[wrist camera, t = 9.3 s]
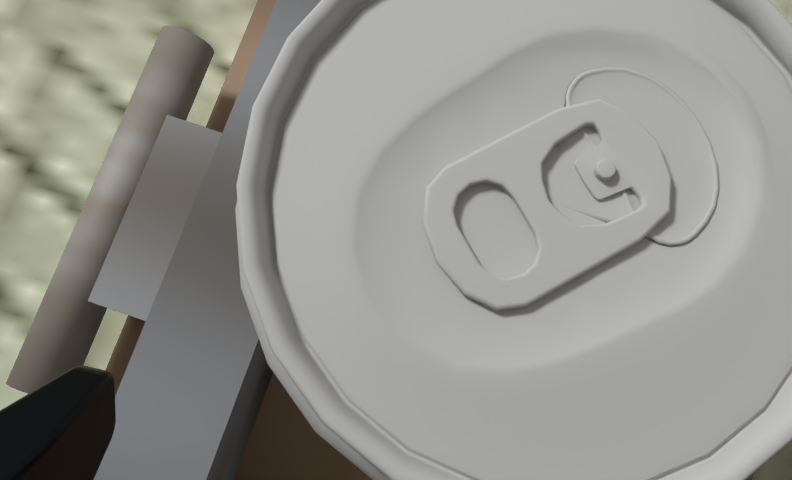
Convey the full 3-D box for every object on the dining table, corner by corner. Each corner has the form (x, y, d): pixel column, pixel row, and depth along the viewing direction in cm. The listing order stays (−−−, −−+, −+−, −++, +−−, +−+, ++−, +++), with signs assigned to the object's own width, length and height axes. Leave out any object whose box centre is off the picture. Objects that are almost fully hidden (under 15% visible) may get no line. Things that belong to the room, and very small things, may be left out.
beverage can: (575, 376, 17) (1035, 329, 5) (387, 485, 16) (430, 708, 5) (468, 193, 18) (659, -205, 6) (284, 291, 17) (99, 61, 5)
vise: (632, 846, 16) (732, 1015, 12) (-34, 605, 17) (-180, 681, 12) (809, 91, 20) (936, 3, 15) (259, -87, 20) (228, -221, 16)
